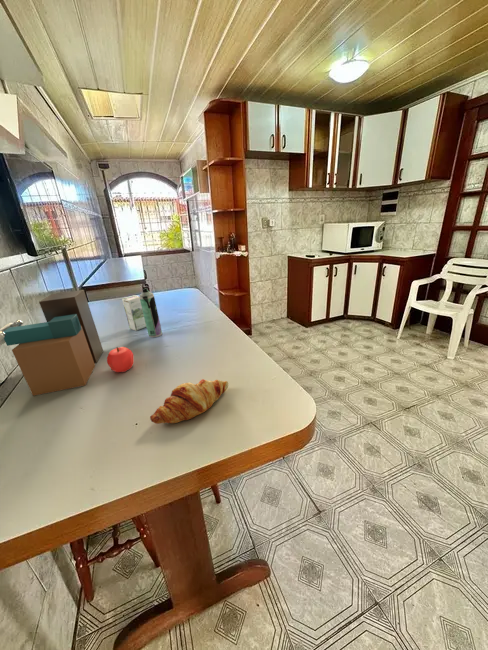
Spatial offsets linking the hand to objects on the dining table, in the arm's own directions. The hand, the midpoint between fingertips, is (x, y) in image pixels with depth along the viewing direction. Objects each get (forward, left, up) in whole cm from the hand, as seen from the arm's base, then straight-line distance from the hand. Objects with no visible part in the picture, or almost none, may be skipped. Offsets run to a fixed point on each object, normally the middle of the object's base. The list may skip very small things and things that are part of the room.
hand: (12, 327), depth 75 cm
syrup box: (+26, +37, -20) cm, 49 cm away
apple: (+25, 0, -20) cm, 32 cm away
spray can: (+34, +25, -20) cm, 46 cm away
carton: (+8, 0, -19) cm, 21 cm away
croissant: (+46, -28, -20) cm, 58 cm away
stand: (+10, +13, -19) cm, 25 cm away
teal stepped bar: (+7, 0, -4) cm, 8 cm away
